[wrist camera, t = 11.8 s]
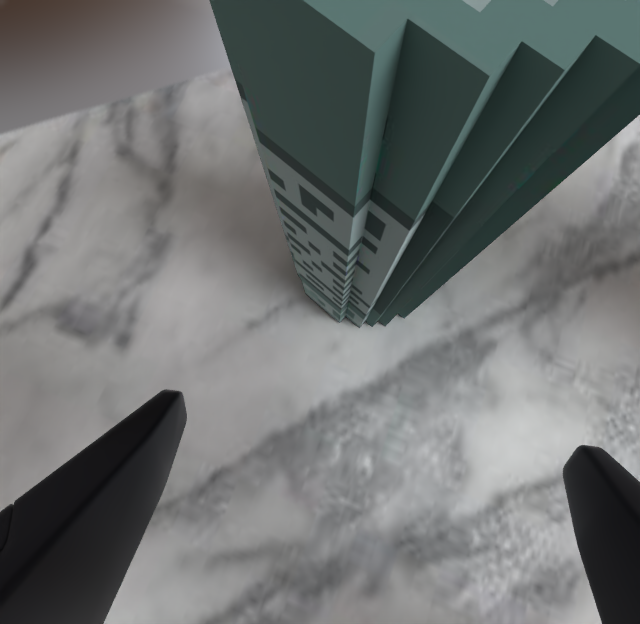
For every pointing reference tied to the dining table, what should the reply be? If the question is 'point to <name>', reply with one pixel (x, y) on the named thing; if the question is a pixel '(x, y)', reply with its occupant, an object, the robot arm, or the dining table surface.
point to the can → (421, 127)
